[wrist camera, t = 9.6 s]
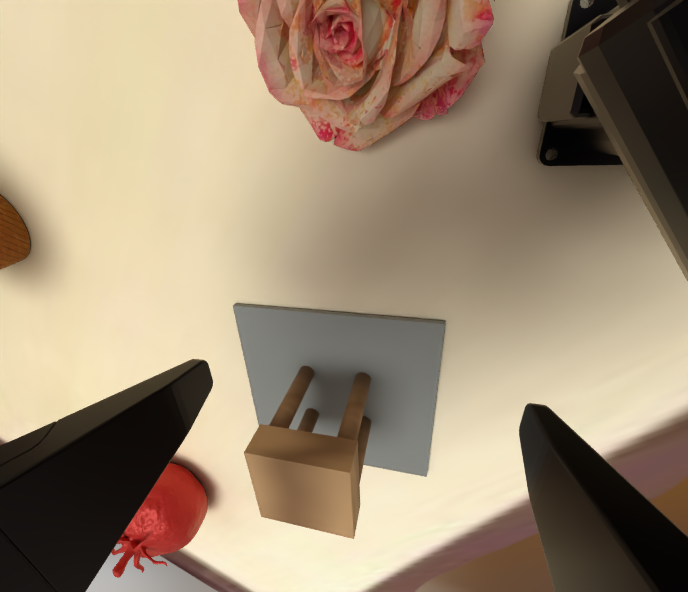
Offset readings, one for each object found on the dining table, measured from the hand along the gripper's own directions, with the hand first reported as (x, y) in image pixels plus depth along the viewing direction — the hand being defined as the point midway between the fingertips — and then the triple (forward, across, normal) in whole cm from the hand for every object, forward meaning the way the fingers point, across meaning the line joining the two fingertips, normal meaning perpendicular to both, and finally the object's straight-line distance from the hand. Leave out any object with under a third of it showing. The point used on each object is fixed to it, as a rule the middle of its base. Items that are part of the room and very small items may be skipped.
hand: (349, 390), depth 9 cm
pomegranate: (+12, +24, +29) cm, 40 cm away
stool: (+12, +4, +12) cm, 17 cm away
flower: (+12, +1, -10) cm, 16 cm away
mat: (+12, +4, +12) cm, 17 cm away
